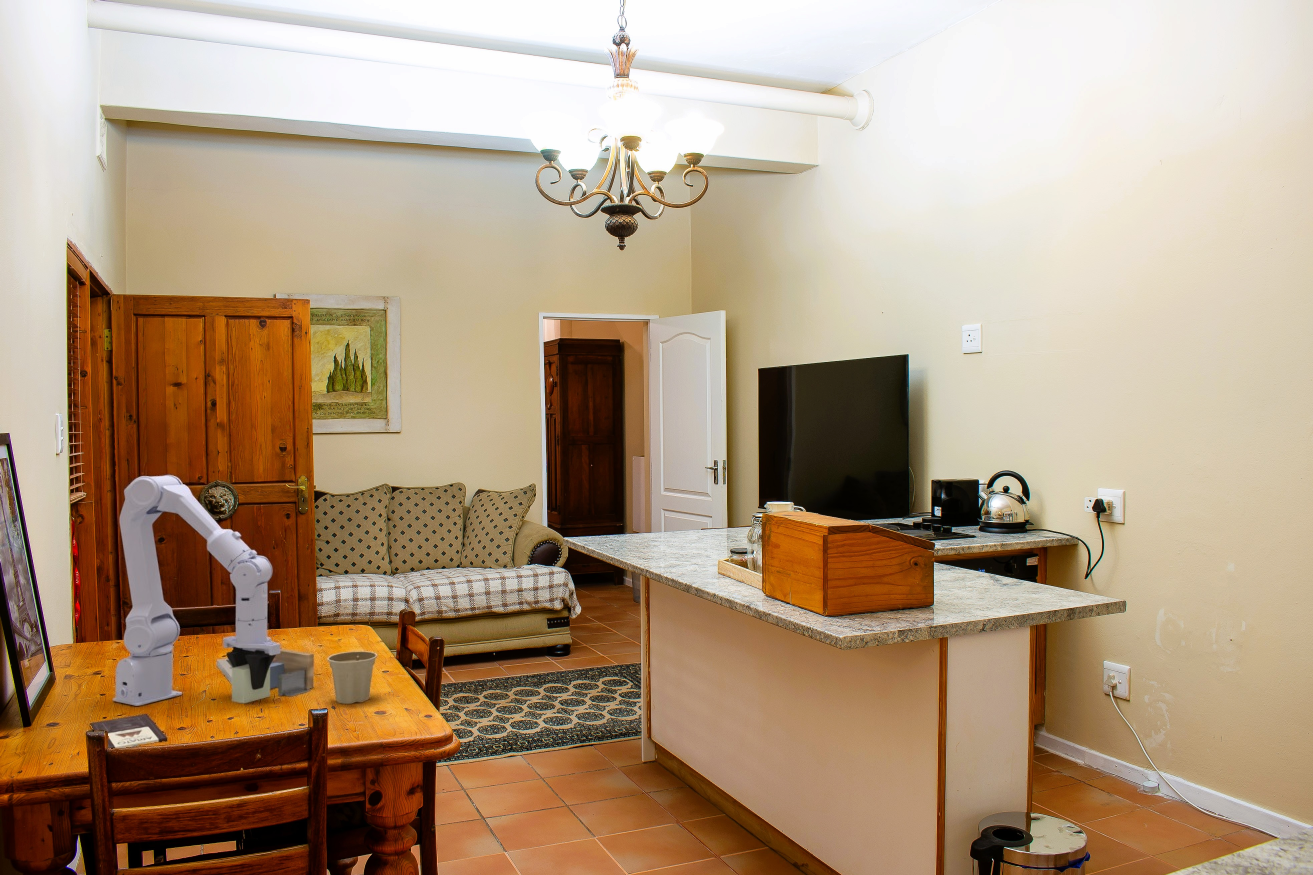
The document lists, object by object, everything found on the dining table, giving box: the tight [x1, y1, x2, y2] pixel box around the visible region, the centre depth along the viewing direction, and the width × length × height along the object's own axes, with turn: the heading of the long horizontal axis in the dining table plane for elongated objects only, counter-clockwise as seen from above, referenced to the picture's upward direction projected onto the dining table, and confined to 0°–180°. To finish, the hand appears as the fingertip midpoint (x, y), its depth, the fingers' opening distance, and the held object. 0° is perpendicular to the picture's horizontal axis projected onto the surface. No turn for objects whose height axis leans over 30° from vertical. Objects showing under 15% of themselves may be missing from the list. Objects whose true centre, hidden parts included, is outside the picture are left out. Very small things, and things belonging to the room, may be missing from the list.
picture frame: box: [216, 658, 233, 685], centre depth 203 cm, size 16×3×21 cm
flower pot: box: [326, 650, 378, 705], centre depth 180 cm, size 9×9×9 cm
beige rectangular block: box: [231, 664, 271, 704], centre depth 180 cm, size 6×4×6 cm, turn 152°
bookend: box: [277, 669, 312, 698], centre depth 185 cm, size 6×3×4 cm, turn 152°
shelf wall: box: [274, 648, 315, 689], centre depth 191 cm, size 2×12×7 cm, turn 62°
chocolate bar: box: [89, 713, 168, 749], centre depth 158 cm, size 9×1×18 cm
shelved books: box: [270, 659, 284, 690], centre depth 189 cm, size 6×5×5 cm
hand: (251, 687), depth 180 cm, fingers closed on beige rectangular block, 3 cm apart
